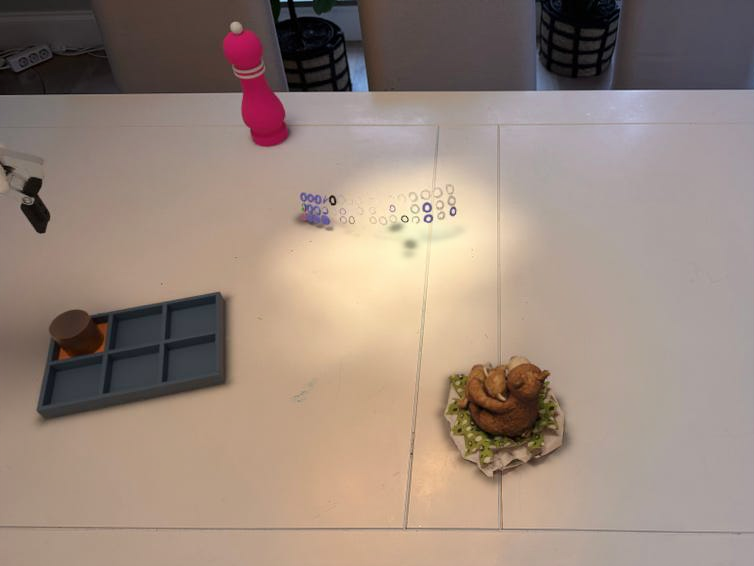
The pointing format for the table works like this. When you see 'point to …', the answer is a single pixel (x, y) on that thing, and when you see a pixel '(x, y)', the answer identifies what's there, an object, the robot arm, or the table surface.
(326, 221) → the ring set
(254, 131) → the pepper mill
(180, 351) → the grid
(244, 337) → the table surface
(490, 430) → the bear figurine
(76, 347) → the brown cylinder
